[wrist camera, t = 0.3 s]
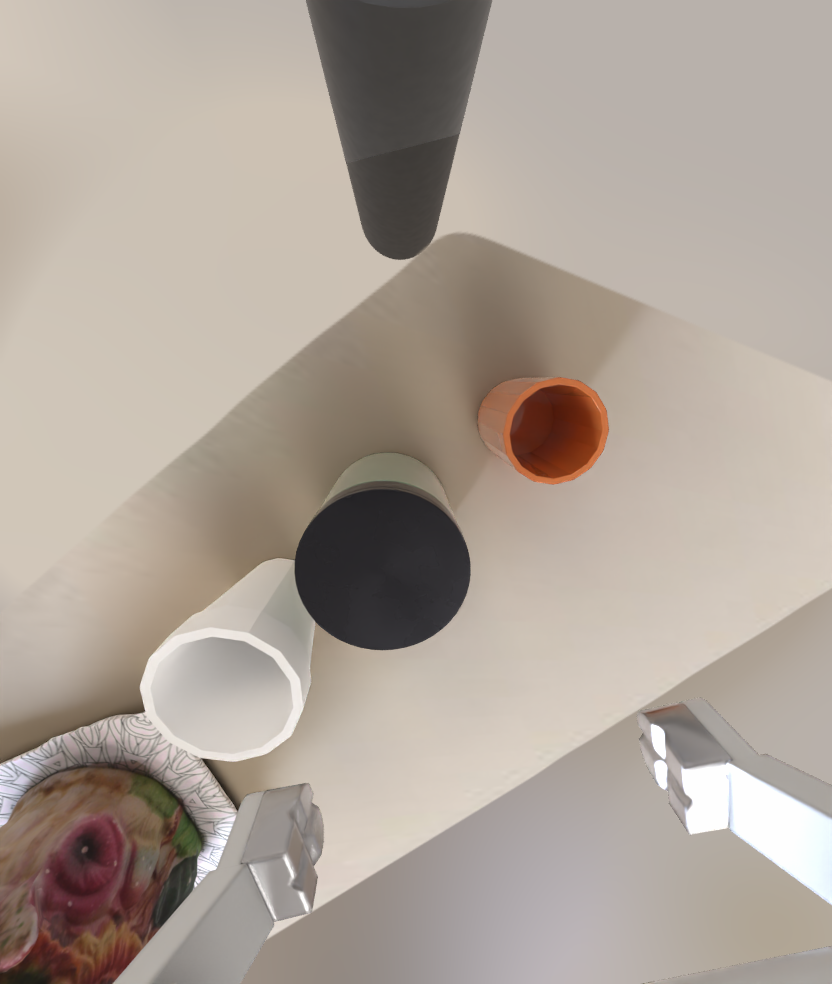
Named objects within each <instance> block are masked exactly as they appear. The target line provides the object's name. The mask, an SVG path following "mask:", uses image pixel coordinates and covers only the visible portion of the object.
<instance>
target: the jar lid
mask: <svg viewBox="0 0 832 984" xmlns="http://www.w3.org/2000/svg"><path fill="white" fill-rule="evenodd" d="M294 574H295V582H296V586H297V590H298V594H299V596H300V598H301V601H302V603H303V605H304V607H305V608H306V610H307V612H308V613H309V614H310V616H311V617H312V618H313V619H314V621H315V622H316V623H317V624H318V625H319V626H320V627H321V628H323V629H324V630H325V631H327V632H328V633H329V634H331V635H332V636H334V637H336V638H337V639H339V640H341V641H343V642H346V643H348V644H350V645H354V646H357V647H360V648H366V649H371V650H394V649H400V648H405V647H408V646H412V645H415V644H417V643H420V642H422V641H424V640H426V639H428V638H430V637H431V636H433V635H435V634H436V633H437V632H439V631H440V630H441V629H443V628H444V627H445V626H446V625H447V624H448V623H449V622H450V621H451V619H452V618H453V617H454V616H455V615H456V613H457V612H458V610H459V608H460V607H461V605H462V603H463V601H464V599H465V596H466V594H467V590H468V587H469V581H470V558H469V552H468V549H467V546H466V543H465V540H464V538H463V535H462V533H461V530H460V528H459V526H458V524H457V522H456V520H455V519H454V517H453V516H452V514H451V513H450V512H449V511H448V509H447V508H446V507H445V506H444V505H443V504H442V503H441V502H440V501H438V500H437V499H436V498H435V497H433V496H432V495H430V494H429V493H427V492H425V491H423V490H421V489H419V488H417V487H414V486H411V485H408V484H405V483H400V482H393V481H373V482H367V483H362V484H359V485H356V486H352V487H350V488H348V489H346V490H344V491H342V492H340V493H338V494H337V495H335V496H334V497H332V498H331V499H330V500H329V501H327V502H326V503H325V504H324V505H323V506H322V507H321V508H320V509H319V511H318V512H317V513H316V515H315V516H314V518H313V519H312V520H311V522H310V524H309V525H308V527H307V528H306V530H305V532H304V534H303V536H302V538H301V540H300V542H299V545H298V548H297V551H296V557H295V569H294Z"/></svg>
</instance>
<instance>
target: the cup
mask: <svg viewBox="0 0 832 984" xmlns="http://www.w3.org/2000/svg"><path fill="white" fill-rule="evenodd" d="M478 430H479V433H480V436H481V438H482V440H483V442H484V443H485V444H486V446H487V447H488V448H489V450H491V451H492V452H493V453H494V454H496V455H497V456H498V457H500V458H501V459H502V460H503V461H505V462H506V463H507V464H509V465H510V466H511V467H513V468H514V469H515V470H516V471H518V472H519V473H521V474H522V475H524V476H526V477H527V478H529V479H530V480H532V481H534V482H539V483H546V484H558V483H562V482H566V481H571V480H574V479H575V478H577V477H578V476H580V475H581V474H583V473H584V472H586V471H587V470H589V469H590V468H591V467H592V466H593V464H594V463H595V462H596V460H597V459H598V457H599V456H600V455H601V453H602V452H603V450H604V446H605V443H606V439H607V436H608V432H609V431H608V430H609V427H608V418H607V410H606V408H605V406H604V405H603V403H602V401H601V400H600V398H599V396H598V394H597V393H596V392H595V391H594V390H592V389H591V388H589V387H588V386H586V385H585V384H584V383H582V382H581V381H579V380H573V379H567V378H561V377H544V378H517V379H512V380H508V381H505V382H502V383H500V384H499V385H497V386H495V387H494V388H493V389H492V390H491V391H490V392H489V393H488V394H487V395H486V397H485V398H484V400H483V401H482V403H481V406H480V409H479V412H478Z"/></svg>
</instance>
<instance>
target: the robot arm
mask: <svg viewBox="0 0 832 984" xmlns="http://www.w3.org/2000/svg"><path fill="white" fill-rule="evenodd" d="M637 723H638V725H639V727H640V728H641V730H642V731H643V734H642V735H641V737H640V738H639V741H640V748H641V752H642V755H643V758H644V761H645V764H646V766H647V768H648V770H649V772H650V774H651V775H652V777H653V779H654V780H655V782H656V783H657V784H658V785H659V786H661V787H662V788H664V789H665V790H667V791H668V796H669V804H670V806H671V807H672V809H673V810H674V812H675V813H676V815H677V816H678V818H679V820H680V821H681V823H682V824H683V826H684V827H685V829H686V830H687V832H688V834H695V833H701V832H706V831H712V830H718V829H724V828H730V831H732V832H734V833H735V834H736V835H737V836H739V837H740V838H741V839H743V840H744V841H745V842H747V843H748V844H750V845H751V846H752V847H754V848H755V849H756V850H758V851H759V852H760V853H762V854H763V855H764V856H766V857H767V858H768V859H770V860H771V861H773V862H774V863H775V864H777V865H778V866H779V867H781V868H782V869H784V870H785V871H786V872H787V873H789V874H790V875H792V876H793V877H794V878H796V879H797V880H799V881H800V882H801V883H803V884H804V885H805V886H807V887H808V888H809V889H811V890H812V891H813V892H815V893H816V894H817V895H819V896H820V897H821V898H823V899H824V900H826V901H827V902H828V903H830V904H831V905H832V785H830V784H828V783H826V782H824V781H822V780H820V779H818V778H816V777H814V776H812V775H809V774H807V773H805V772H803V771H801V770H799V769H797V768H795V767H793V766H791V765H788V764H786V763H784V762H782V761H780V760H778V759H776V758H774V757H772V756H770V755H768V754H762V755H759V754H758V753H757V752H756V751H755V750H754V749H753V748H752V747H751V746H750V745H749V744H748V743H747V742H746V741H745V740H744V739H743V738H742V737H741V736H740V735H739V734H738V733H737V732H736V730H735V729H734V728H733V727H732V726H731V725H730V724H729V723H728V722H727V721H726V720H725V719H724V718H723V717H722V716H721V715H720V714H719V713H718V712H717V711H716V710H715V709H714V708H713V707H712V706H711V705H710V704H709V703H708V702H707V700H705V699H703V698H701V697H700V698H695V699H691V700H686V701H681V702H679V703H678V702H676V703H671V704H667V705H663V706H658V707H654V708H650V709H645V710H641V711H638V714H637ZM312 798H313V791H312V789H311V787H310V784H309V783H304V784H298V785H293V786H287V787H282V788H277V789H271V790H267V791H262V792H257V793H252V794H247V795H246V797H245V798H244V799H243V800H242V802H241V805H240V807H239V810H238V813H237V815H236V818H235V821H234V823H233V826H232V829H231V831H230V834H229V836H228V839H227V842H226V844H225V847H224V850H223V852H222V855H221V858H220V860H219V863H218V866H217V868H216V870H212V871H209V872H208V874H207V875H206V876H205V877H204V878H203V879H202V881H201V882H200V883H199V884H198V885H197V886H196V888H195V889H194V890H193V891H192V892H191V893H190V894H189V896H188V897H187V898H186V899H185V900H184V901H183V903H182V904H181V905H180V906H179V907H178V908H177V910H176V911H175V912H174V913H173V914H172V915H171V917H170V918H169V919H168V920H167V921H166V922H165V923H164V925H163V926H162V927H161V928H160V929H159V930H158V932H157V933H156V934H155V935H154V936H153V937H152V939H151V940H150V941H149V942H148V943H147V944H146V946H145V947H144V948H143V949H142V950H141V951H140V952H139V954H138V955H137V956H136V957H135V958H134V959H133V961H132V962H131V963H130V964H129V965H128V966H127V968H126V969H125V970H124V971H123V972H122V973H121V974H120V976H119V977H118V978H117V979H116V980H115V981H114V983H113V984H240V983H241V982H242V980H243V978H244V976H245V975H246V973H247V971H248V970H249V968H250V966H251V964H252V963H253V961H254V959H255V957H256V956H257V954H258V952H259V950H260V949H261V947H262V945H263V943H264V942H265V940H266V938H267V937H268V935H269V933H270V931H271V930H272V928H273V926H274V922H275V921H279V920H284V919H288V918H292V917H296V916H300V915H304V914H308V913H311V912H312V908H313V902H314V896H315V890H316V884H317V878H318V877H317V874H316V871H315V869H314V865H315V864H316V862H317V861H318V859H319V858H320V856H321V854H322V848H323V820H322V815H321V812H320V809H319V807H318V806H316V805H314V804H313V803H312ZM643 984H832V946H829V947H824V948H819V949H814V950H809V951H804V952H799V953H794V954H789V955H784V956H779V957H774V958H769V959H764V960H759V961H754V962H749V963H744V964H739V965H734V966H729V967H724V968H719V969H714V970H709V971H704V972H699V973H693V974H688V975H684V976H678V977H673V978H668V979H663V980H658V981H653V982H648V983H643Z"/></svg>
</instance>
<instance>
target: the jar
mask: <svg viewBox="0 0 832 984" xmlns="http://www.w3.org/2000/svg"><path fill="white" fill-rule="evenodd" d="M373 481H393V482H400V483H405V484H408V485H411V486H414V487H417V488H419V489H421V490H423V491H425V492H427V493H429V494H430V495H432V496H433V497H435V498H436V499H437V500H438V501H440V502H441V503H442V504H443V505H444V506H445V507H446V508H447V509H448V511H449V512H450V513H451V514H452V516H453V517H454V514H453V512H452V509H451V507H450V504H449V502H448V499H447V497H446V494H445V492H444V489H443V487H442V485H441V483H440V481H439V480H438V478H437V476H436V475H435V474H434V473H433V472H432V471H431V470H430V469H429V468H428V467H427V466H426V465H425V464H423V463H422V462H420V461H419V460H417V459H415V458H413V457H410V456H407V455H404V454H400V453H392V452H385V453H376V454H372V455H369V456H366V457H364V458H361V459H359V460H358V461H356V462H354V463H353V464H352V465H350V466H349V467H348V468H347V469H346V470H345V471H344V472H343V473H342V474H341V476H340V477H339V478H338V480H337V481H336V483H335V485H334V486H333V488H332V489H331V491H330V493H329V494H328V496H327V497H326V499H325V501H324V502H323V504H322V505H321V507H322V506H323V505H324V504H325V503H326V502H327V501H329V500H330V499H331V498H332V497H334V496H335V495H337V494H338V493H340V492H342V491H344V490H346V489H348V488H350V487H352V486H356V485H359V484H362V483H367V482H373ZM321 507H320V508H321ZM318 511H319V510H318ZM454 519H455V517H454ZM455 520H456V519H455Z"/></svg>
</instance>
